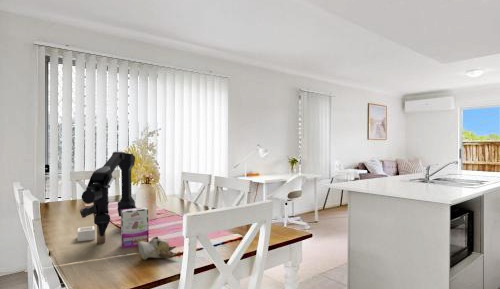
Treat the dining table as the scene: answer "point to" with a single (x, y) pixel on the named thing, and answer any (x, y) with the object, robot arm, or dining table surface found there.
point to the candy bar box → (134, 227)
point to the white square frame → (86, 233)
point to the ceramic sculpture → (155, 249)
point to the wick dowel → (99, 238)
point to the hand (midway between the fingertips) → (101, 233)
